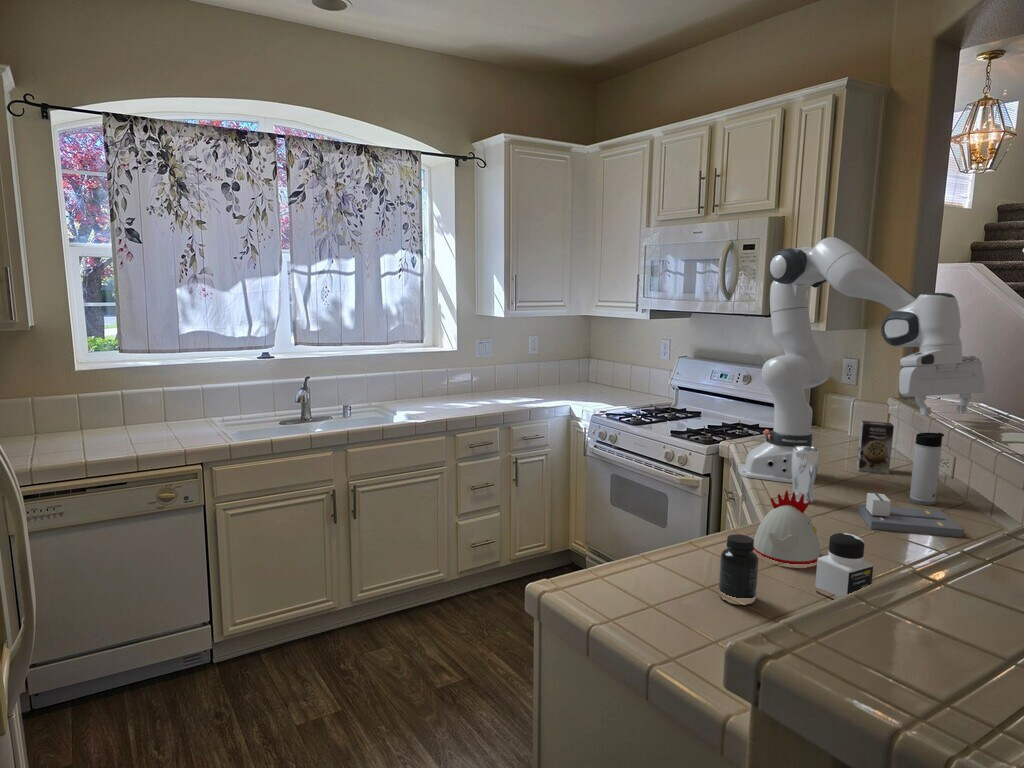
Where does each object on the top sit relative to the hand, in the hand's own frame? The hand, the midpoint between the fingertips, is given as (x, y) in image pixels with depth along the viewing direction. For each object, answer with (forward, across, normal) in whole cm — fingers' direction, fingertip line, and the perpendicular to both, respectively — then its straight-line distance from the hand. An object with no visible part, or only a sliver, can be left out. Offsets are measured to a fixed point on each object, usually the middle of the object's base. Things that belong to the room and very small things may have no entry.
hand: (943, 413), depth 164 cm
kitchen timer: (+29, +48, +11) cm, 57 cm away
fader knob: (+25, +12, -9) cm, 29 cm away
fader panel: (+28, +6, -7) cm, 30 cm away
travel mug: (+27, -10, -24) cm, 37 cm away
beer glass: (+24, +23, -27) cm, 43 cm away
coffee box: (+22, -17, -56) cm, 63 cm away
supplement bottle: (+31, +67, +30) cm, 80 cm away
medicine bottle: (+32, +46, +30) cm, 64 cm away
